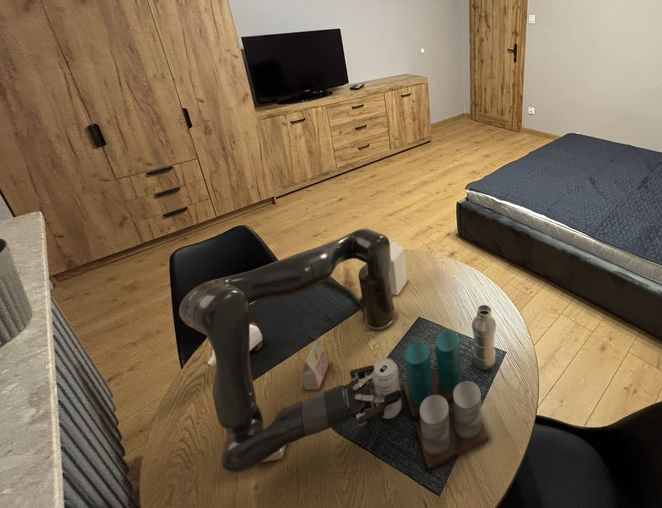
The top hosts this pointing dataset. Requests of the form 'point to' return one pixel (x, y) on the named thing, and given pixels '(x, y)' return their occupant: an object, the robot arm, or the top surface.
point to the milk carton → (397, 267)
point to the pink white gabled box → (314, 368)
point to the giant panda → (254, 342)
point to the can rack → (437, 381)
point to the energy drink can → (387, 384)
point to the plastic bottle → (484, 338)
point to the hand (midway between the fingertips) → (396, 381)
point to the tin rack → (451, 424)
